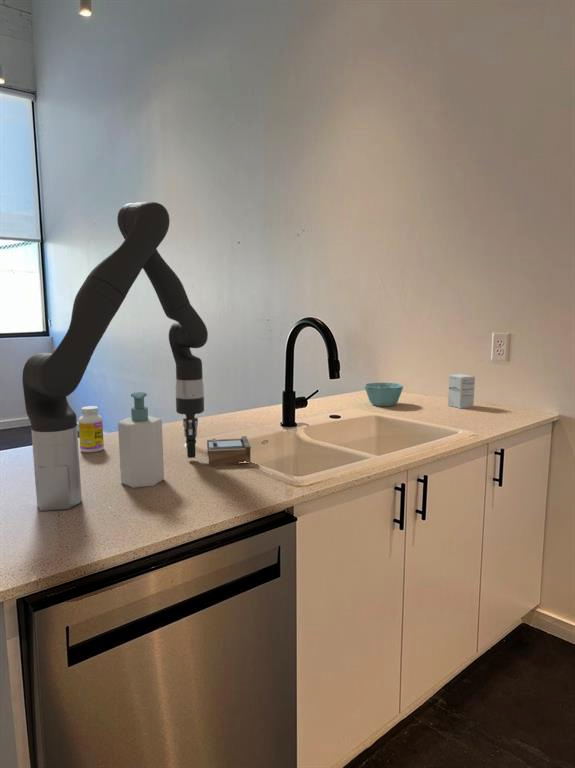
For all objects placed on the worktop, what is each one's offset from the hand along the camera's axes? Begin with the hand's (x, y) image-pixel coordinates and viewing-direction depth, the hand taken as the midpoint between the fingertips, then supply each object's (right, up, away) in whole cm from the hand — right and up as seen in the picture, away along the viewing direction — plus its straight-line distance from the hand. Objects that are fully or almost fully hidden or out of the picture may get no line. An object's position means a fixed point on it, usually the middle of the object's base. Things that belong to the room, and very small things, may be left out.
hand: (191, 456), depth 159 cm
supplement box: (+96, +11, +73) cm, 121 cm away
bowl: (+66, +11, +78) cm, 102 cm away
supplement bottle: (-31, 0, +11) cm, 33 cm away
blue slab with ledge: (+9, -1, +2) cm, 10 cm away
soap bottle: (-9, -4, -17) cm, 20 cm away
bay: (+9, -1, +2) cm, 10 cm away
